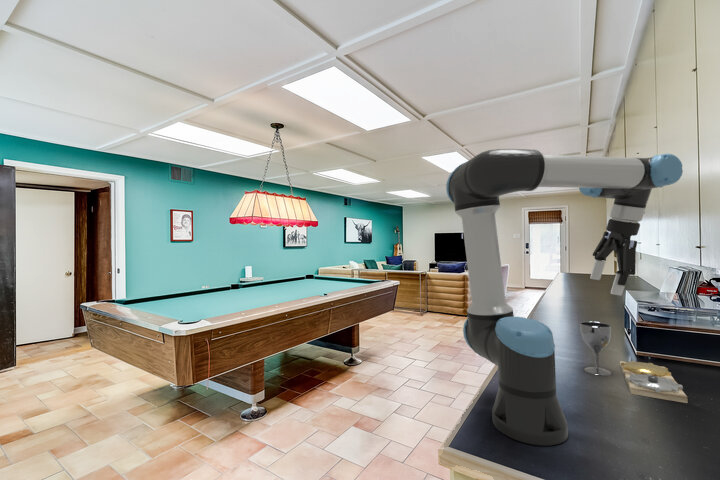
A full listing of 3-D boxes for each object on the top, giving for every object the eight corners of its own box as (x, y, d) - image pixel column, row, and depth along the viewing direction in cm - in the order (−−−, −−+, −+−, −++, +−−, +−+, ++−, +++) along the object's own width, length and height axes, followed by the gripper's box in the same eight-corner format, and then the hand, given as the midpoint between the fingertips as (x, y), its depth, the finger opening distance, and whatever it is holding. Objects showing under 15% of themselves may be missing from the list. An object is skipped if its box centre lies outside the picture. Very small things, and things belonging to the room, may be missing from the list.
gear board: (689, 403, 81) (688, 389, 81) (629, 393, 87) (628, 380, 87) (666, 371, 101) (665, 360, 101) (619, 365, 107) (618, 355, 107)
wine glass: (602, 366, 107) (600, 321, 107) (619, 376, 99) (616, 326, 99) (577, 366, 108) (574, 321, 108) (592, 376, 100) (589, 327, 100)
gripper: (667, 229, 84) (641, 304, 89) (617, 215, 107) (599, 275, 113) (634, 225, 85) (611, 299, 90) (592, 212, 109) (575, 272, 114)
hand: (604, 286), depth 101 cm, fingers open, 13 cm apart
